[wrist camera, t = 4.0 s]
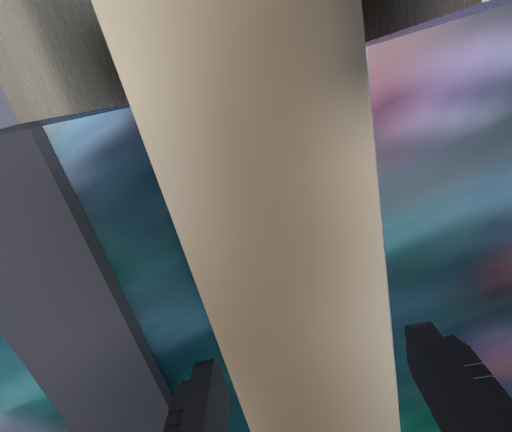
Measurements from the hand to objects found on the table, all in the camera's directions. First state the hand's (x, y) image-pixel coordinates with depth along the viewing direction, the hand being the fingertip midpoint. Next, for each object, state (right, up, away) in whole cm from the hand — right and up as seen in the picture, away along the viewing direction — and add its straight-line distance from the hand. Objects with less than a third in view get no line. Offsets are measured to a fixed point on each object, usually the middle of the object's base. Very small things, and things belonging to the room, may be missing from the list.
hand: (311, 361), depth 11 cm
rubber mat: (-15, +1, +9) cm, 17 cm away
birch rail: (0, 0, -1) cm, 1 cm away
